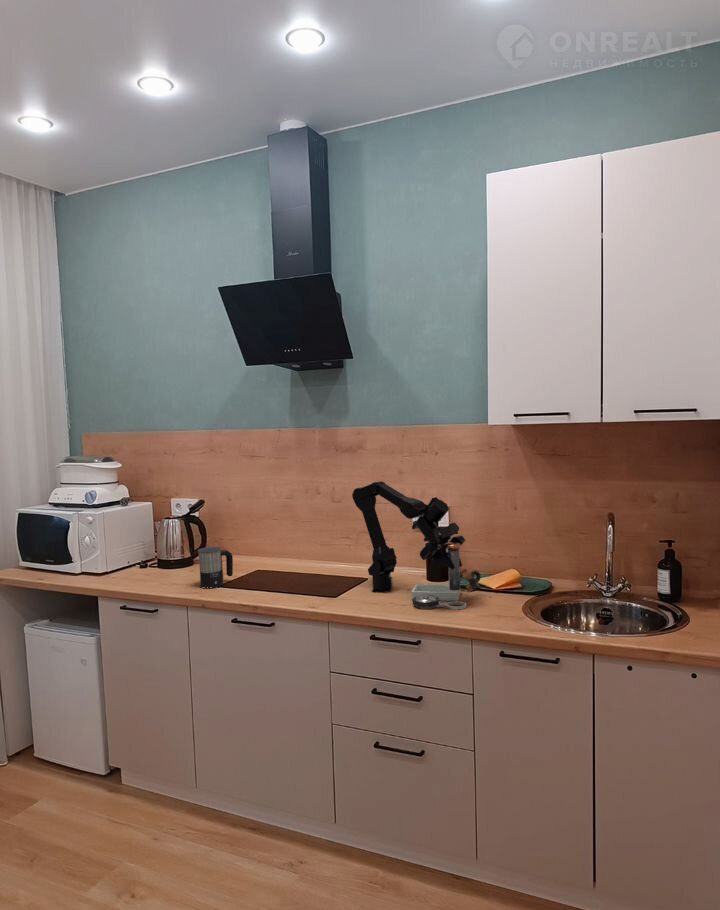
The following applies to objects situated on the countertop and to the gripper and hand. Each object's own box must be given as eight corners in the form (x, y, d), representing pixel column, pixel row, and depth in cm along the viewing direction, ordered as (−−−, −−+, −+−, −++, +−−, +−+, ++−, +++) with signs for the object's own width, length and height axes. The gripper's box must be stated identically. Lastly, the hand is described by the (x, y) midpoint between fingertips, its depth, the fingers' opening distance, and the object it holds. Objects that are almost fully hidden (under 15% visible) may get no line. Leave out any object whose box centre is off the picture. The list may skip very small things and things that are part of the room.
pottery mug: (463, 595, 237) (452, 574, 239) (453, 600, 245) (442, 580, 248) (489, 582, 242) (478, 561, 244) (479, 587, 250) (468, 568, 252)
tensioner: (411, 609, 222) (411, 599, 221) (415, 601, 230) (415, 592, 230) (465, 610, 217) (464, 601, 217) (467, 603, 226) (466, 593, 225)
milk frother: (209, 590, 258) (207, 552, 257) (184, 585, 267) (181, 548, 266) (237, 581, 269) (235, 545, 268) (212, 577, 278) (209, 542, 277)
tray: (411, 600, 232) (411, 591, 232) (416, 592, 242) (415, 584, 241) (457, 601, 228) (457, 592, 228) (460, 593, 238) (460, 585, 238)
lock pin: (447, 590, 221) (446, 545, 220) (448, 587, 225) (447, 542, 224) (460, 591, 220) (459, 545, 219) (462, 587, 224) (460, 542, 223)
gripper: (425, 519, 217) (453, 557, 210) (460, 512, 230) (487, 547, 223) (408, 541, 223) (434, 578, 216) (442, 532, 236) (469, 567, 229)
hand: (457, 567), depth 221 cm, fingers closed on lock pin, 4 cm apart
